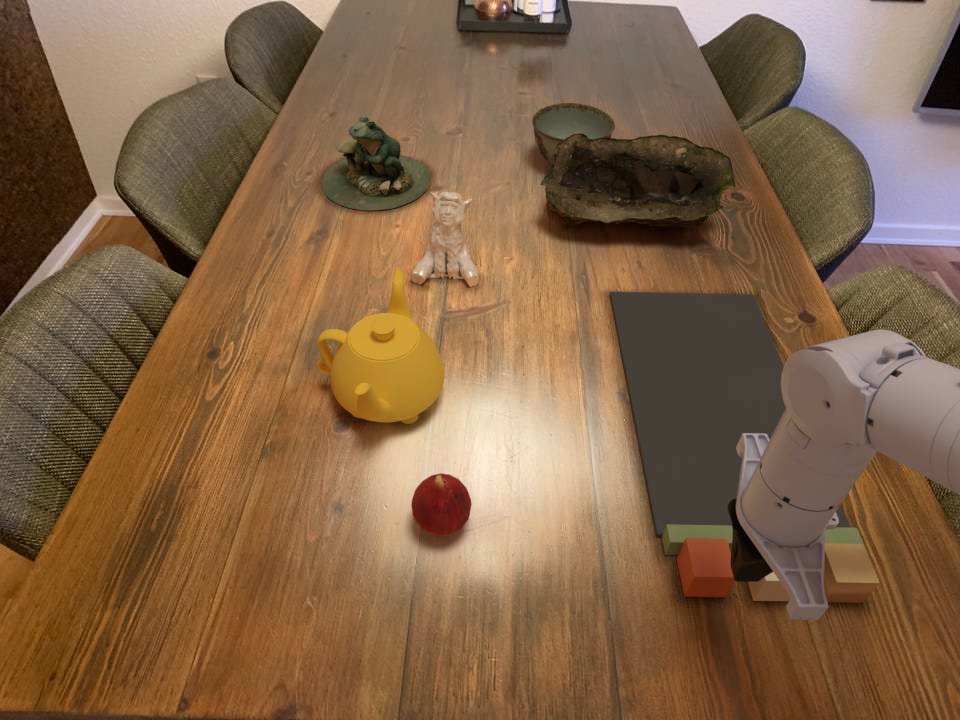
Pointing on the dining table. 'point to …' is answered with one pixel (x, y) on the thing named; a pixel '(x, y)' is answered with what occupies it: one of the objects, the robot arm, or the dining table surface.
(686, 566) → the terracotta block
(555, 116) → the bowl
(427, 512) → the onion
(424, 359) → the teapot
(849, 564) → the birch block
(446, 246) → the sitting furry creature
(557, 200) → the hollow geode rock
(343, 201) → the frog figurine
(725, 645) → the dining table surface
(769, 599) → the ivory block
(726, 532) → the line board
